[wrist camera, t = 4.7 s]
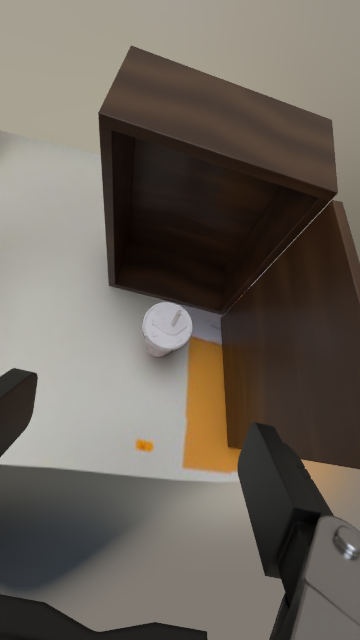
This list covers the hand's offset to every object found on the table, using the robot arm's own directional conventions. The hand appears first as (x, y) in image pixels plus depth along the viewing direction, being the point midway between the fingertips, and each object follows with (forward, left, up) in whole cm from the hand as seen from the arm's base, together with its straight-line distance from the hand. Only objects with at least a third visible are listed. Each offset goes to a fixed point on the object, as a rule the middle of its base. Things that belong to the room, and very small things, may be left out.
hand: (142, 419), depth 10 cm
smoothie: (+9, +9, -31) cm, 33 cm away
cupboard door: (+19, -1, -30) cm, 36 cm away
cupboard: (+16, +20, -30) cm, 40 cm away
